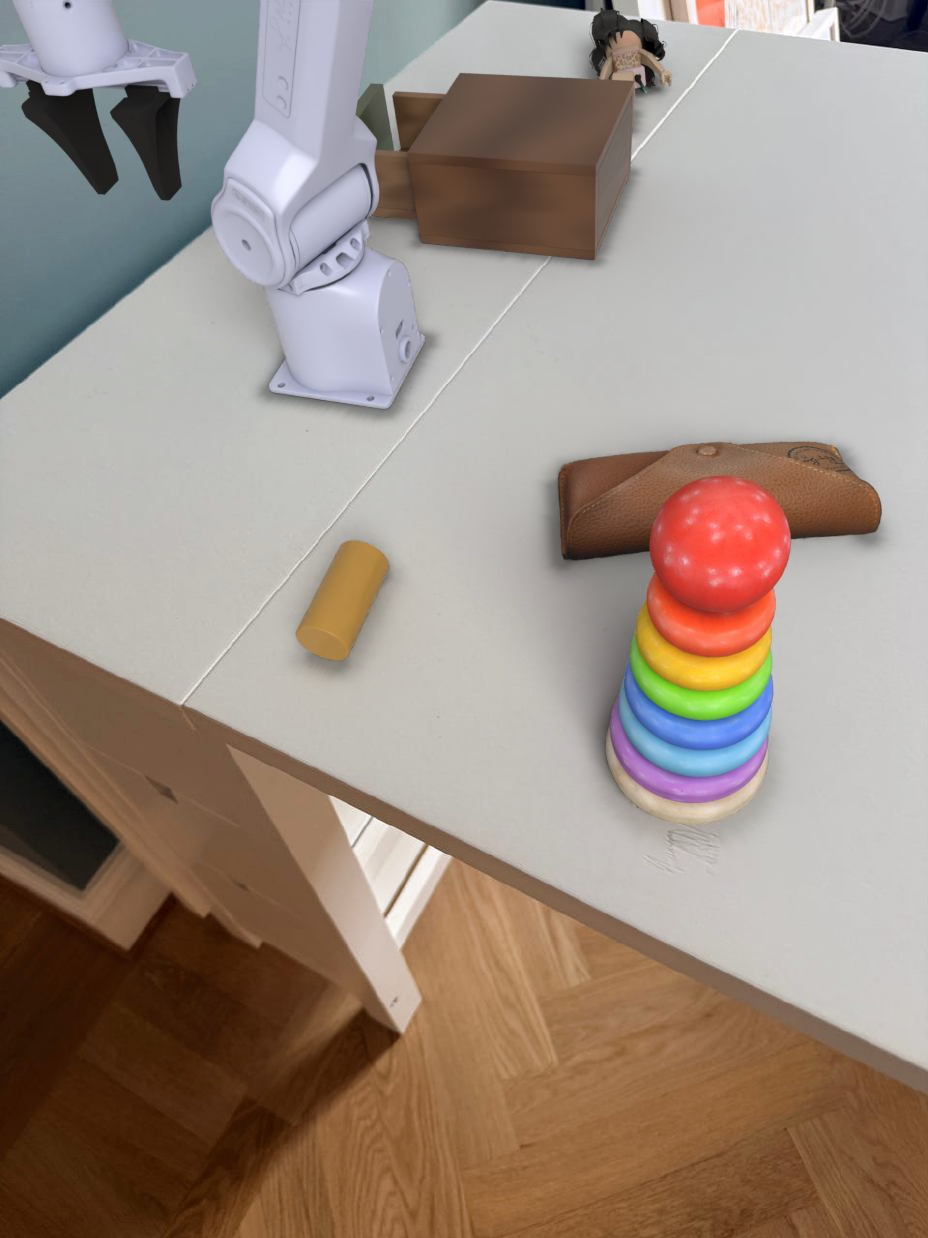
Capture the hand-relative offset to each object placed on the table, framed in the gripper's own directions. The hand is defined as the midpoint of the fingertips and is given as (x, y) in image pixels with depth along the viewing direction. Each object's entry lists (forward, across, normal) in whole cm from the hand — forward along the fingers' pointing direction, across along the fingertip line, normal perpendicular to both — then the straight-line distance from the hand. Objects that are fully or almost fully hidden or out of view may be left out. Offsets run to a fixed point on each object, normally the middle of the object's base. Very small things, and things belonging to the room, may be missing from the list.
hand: (139, 189), depth 68 cm
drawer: (+8, +13, +17) cm, 23 cm away
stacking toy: (+10, +46, -30) cm, 56 cm away
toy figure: (+10, +28, +37) cm, 47 cm away
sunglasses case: (+10, +44, -13) cm, 47 cm away
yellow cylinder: (+9, +25, -26) cm, 37 cm away
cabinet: (+9, +24, +17) cm, 31 cm away
